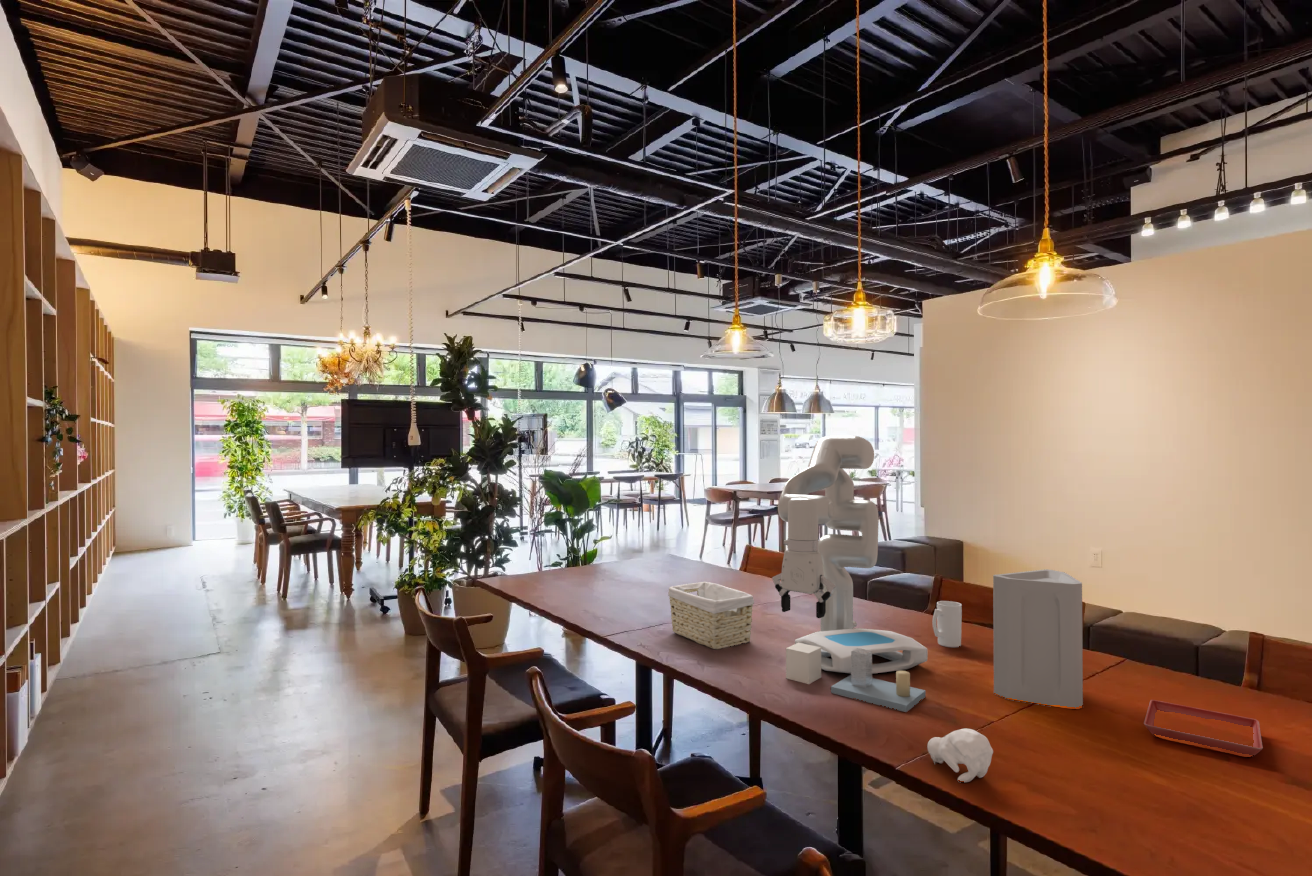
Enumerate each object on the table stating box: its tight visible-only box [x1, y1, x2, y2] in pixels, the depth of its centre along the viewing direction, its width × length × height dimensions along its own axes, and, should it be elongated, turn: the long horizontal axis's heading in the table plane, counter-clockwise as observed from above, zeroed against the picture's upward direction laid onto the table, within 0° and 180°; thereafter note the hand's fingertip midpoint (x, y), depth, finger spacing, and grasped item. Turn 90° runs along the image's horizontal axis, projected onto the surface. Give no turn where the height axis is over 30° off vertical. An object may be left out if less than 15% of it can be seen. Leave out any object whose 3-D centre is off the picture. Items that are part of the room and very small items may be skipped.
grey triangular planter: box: [992, 569, 1084, 708], centre depth 159 cm, size 19×15×28 cm
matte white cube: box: [785, 643, 822, 685], centre depth 173 cm, size 6×6×8 cm
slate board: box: [830, 670, 927, 713], centre depth 161 cm, size 12×18×6 cm, turn 49°
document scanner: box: [794, 627, 929, 675], centre depth 184 cm, size 21×28×6 cm
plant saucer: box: [1143, 699, 1264, 756], centre depth 139 cm, size 18×18×3 cm
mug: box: [931, 600, 963, 648], centre depth 201 cm, size 10×7×12 cm, turn 116°
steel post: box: [850, 648, 873, 688], centre depth 164 cm, size 4×4×8 cm
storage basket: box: [667, 581, 755, 650], centre depth 209 cm, size 24×16×15 cm
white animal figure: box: [926, 727, 994, 783], centre depth 124 cm, size 6×8×12 cm
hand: (803, 614), depth 173 cm, fingers open, 9 cm apart
